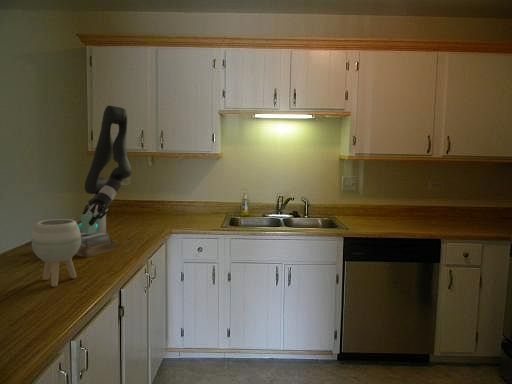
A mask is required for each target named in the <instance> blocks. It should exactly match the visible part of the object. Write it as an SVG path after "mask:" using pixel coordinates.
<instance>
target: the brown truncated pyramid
mask: <svg viewBox="0 0 512 384" xmlns="http://www.w3.org/2000/svg"><path fill="white" fill-rule="evenodd" d="M80 233H81V245H80V248H79V250H78V252H77V253H76V254H75V255H74V256H78V257H82V258H91V257H95V256H97V255H101V254H105V253H108V252H111V251H112V252H113V251H115V250H116V241H115V240H114V239H111V240H110V234H109V233H107V232H106V233H99V232H92V233H82V232H80Z"/></svg>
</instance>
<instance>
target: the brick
mask: <svg viewBox="0 0 512 384" xmlns="http://www.w3.org/2000/svg"><path fill="white" fill-rule="evenodd" d="M93 216H94V214H83V213H82V214H80V223H81V231H80V233H92V232H96V222H95V223H94V224H93V225H92V226H91V225H90V224H89V222H90V220H91V219H92V217H93Z"/></svg>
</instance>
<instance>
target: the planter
mask: <svg viewBox="0 0 512 384" xmlns="http://www.w3.org/2000/svg"><path fill="white" fill-rule="evenodd" d="M81 233H82V232H81V231H80V230H79V227H78V223H77V221H76V220H74V219H69V218H58V219H57V218H56V219H55V218H54V219H53V218H52V219H45V220H41V221H38V222H36V223H35V225H34V228H33V231H32V236H31V248H32V252H33V253H34V254H35V256H37V257H38V258H39V259H40V260H42V262H44V268H43V273H42V280H43V281H47V280H49V279H50V285H51V287H52V288H55V287H57V286H59V284H58V283H59V272H60V263H61V262H64V264H65V266H66V269H67V272H68V274H69V276H70V278H71V279H76V278H77V272H76V269H75V266H74V263H73V257H74V256H76V255H75V254H76V253H77V252H78V250H79V248H80V245H81Z"/></svg>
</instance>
